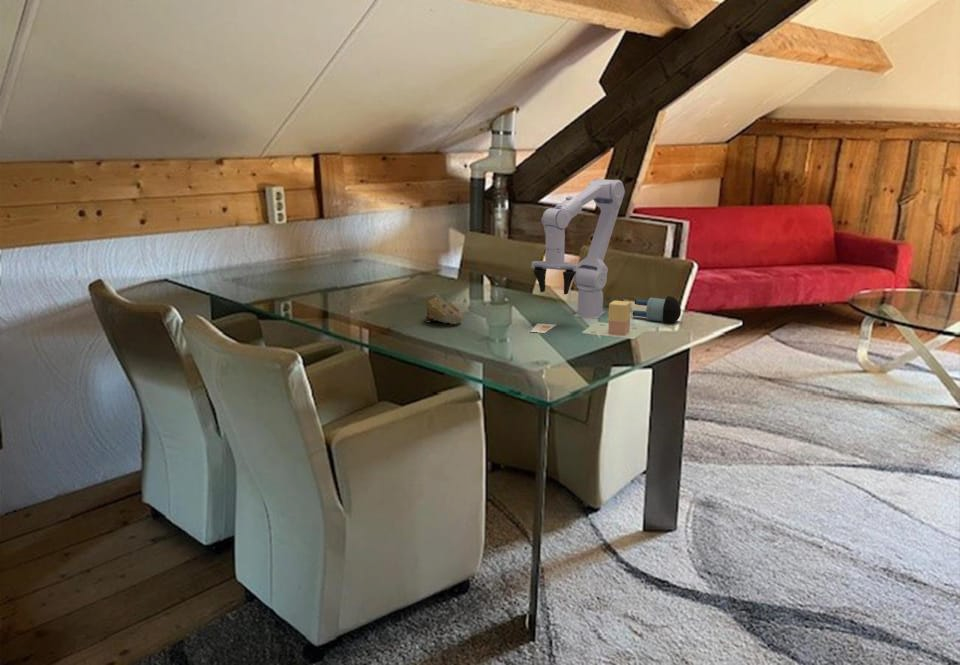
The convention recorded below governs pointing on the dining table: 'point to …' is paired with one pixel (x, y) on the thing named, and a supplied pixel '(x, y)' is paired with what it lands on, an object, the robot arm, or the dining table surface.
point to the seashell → (442, 311)
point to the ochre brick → (619, 311)
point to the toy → (659, 309)
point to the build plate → (602, 329)
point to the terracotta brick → (619, 327)
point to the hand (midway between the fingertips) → (554, 292)
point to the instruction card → (542, 328)
